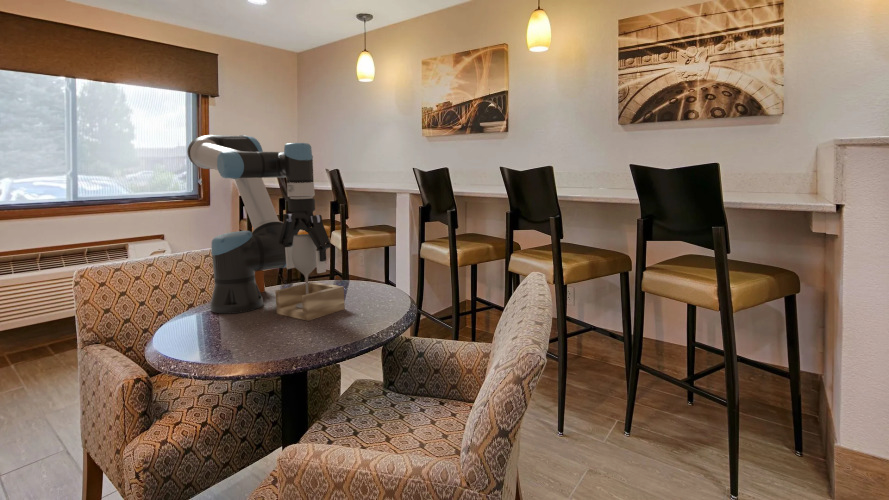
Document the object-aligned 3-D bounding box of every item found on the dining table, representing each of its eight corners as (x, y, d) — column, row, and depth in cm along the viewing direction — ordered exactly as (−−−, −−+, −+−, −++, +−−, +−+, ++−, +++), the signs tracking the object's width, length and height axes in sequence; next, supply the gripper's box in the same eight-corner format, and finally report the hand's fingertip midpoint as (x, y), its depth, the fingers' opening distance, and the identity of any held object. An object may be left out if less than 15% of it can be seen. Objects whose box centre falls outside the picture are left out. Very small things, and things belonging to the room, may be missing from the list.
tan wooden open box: (276, 313, 148) (275, 290, 147) (313, 303, 160) (312, 281, 159) (308, 320, 140) (306, 296, 139) (344, 309, 152) (343, 286, 151)
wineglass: (289, 308, 146) (285, 236, 143) (302, 301, 153) (298, 233, 151) (314, 309, 145) (310, 236, 142) (325, 302, 152) (322, 234, 149)
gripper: (263, 198, 148) (268, 268, 151) (320, 199, 134) (324, 276, 137) (284, 196, 154) (289, 264, 158) (341, 197, 140) (345, 272, 143)
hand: (305, 270), depth 147 cm, fingers open, 13 cm apart
